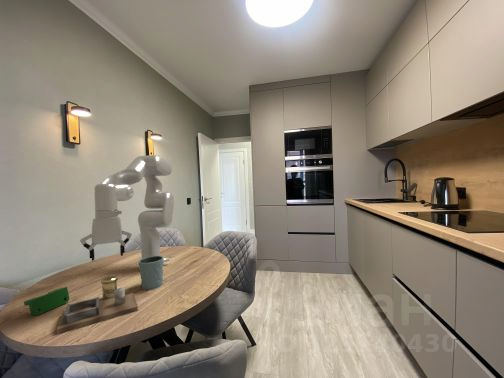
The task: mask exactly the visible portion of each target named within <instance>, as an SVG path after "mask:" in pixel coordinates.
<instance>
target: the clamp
mask: <svg viewBox="0 0 504 378" xmlns="http://www.w3.org/2000/svg"><path fill="white" fill-rule="evenodd" d="M69 300H70V294H69V289H68V286H65V287H60V288H56V289H53V290H51V291H49V292H48V293H45V294H43V295H40V296H37V297H32V298H30V299H27V300H25V301H23V305H24V306H25V307H26V306H28V308H29V312H30V313H29V314H30V316H39V315H41V314H44V313H46V312H48V311H50V310H53V309H54V308H55V309H56V308H57V307H59V306H62V305H64V304H66V303H68V302H69Z"/></svg>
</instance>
